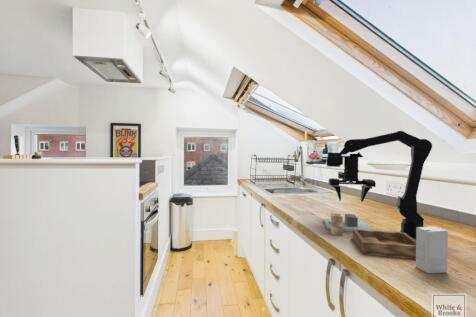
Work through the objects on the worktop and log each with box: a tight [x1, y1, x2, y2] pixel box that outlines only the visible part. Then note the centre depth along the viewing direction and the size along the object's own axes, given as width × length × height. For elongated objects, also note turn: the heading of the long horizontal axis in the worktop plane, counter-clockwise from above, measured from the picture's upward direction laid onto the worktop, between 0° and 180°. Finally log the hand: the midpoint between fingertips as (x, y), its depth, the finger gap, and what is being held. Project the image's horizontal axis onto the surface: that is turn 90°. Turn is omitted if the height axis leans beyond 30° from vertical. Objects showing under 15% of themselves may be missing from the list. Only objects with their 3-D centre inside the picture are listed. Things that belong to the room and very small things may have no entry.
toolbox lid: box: [323, 213, 373, 233], centre depth 105 cm, size 18×14×5 cm
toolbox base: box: [351, 229, 416, 260], centre depth 81 cm, size 18×14×4 cm
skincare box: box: [415, 226, 449, 274], centre depth 66 cm, size 6×4×12 cm
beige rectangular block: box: [330, 212, 344, 237], centre depth 96 cm, size 4×4×8 cm
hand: (350, 201), depth 105 cm, fingers open, 9 cm apart
